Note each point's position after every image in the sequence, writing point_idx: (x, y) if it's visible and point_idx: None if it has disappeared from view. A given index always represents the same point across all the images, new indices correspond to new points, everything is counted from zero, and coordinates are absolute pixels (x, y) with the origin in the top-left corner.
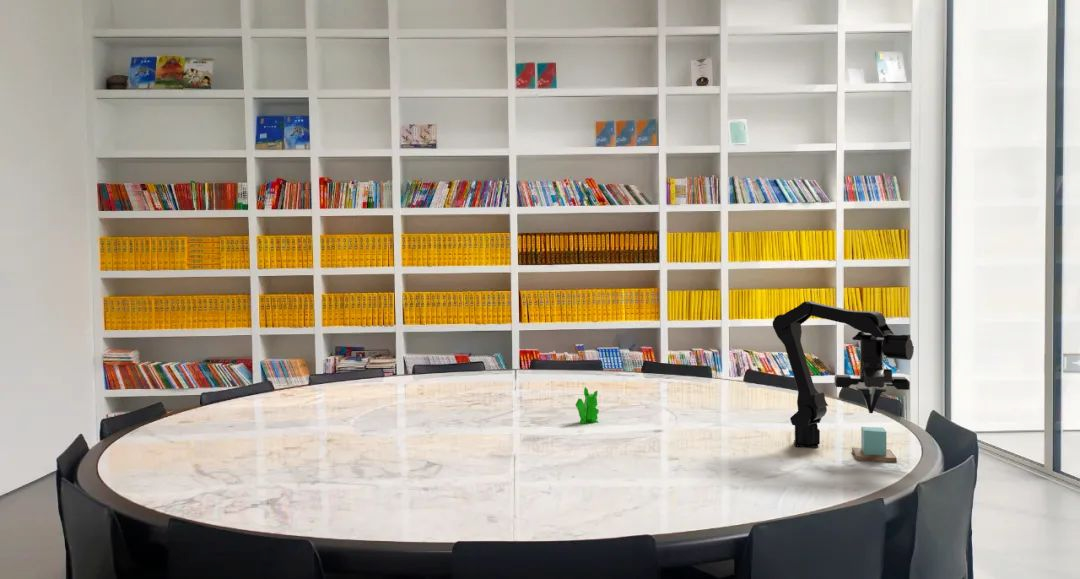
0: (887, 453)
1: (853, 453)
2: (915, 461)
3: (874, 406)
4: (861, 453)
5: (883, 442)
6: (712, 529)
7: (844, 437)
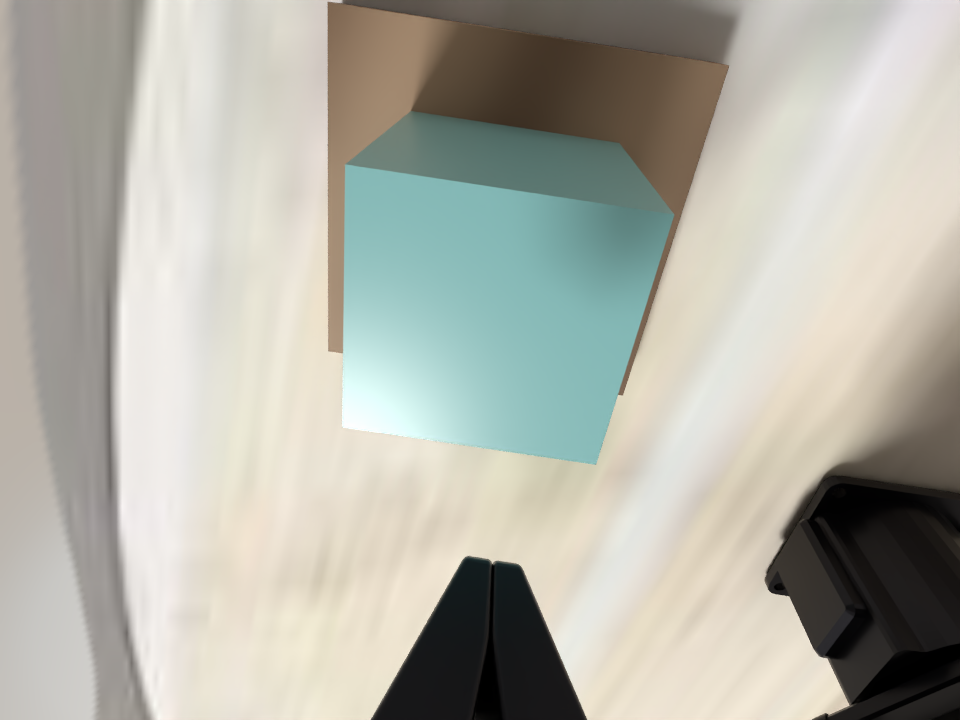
0: None
1: None
2: (163, 75)
3: (415, 668)
4: None
5: (416, 139)
6: None
7: None
